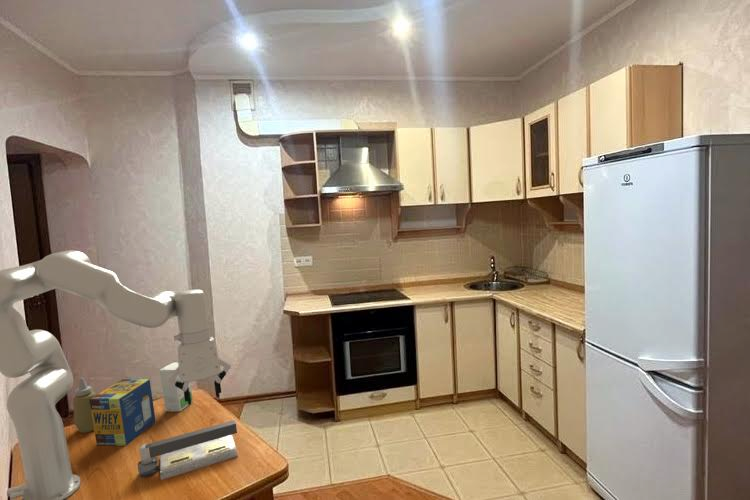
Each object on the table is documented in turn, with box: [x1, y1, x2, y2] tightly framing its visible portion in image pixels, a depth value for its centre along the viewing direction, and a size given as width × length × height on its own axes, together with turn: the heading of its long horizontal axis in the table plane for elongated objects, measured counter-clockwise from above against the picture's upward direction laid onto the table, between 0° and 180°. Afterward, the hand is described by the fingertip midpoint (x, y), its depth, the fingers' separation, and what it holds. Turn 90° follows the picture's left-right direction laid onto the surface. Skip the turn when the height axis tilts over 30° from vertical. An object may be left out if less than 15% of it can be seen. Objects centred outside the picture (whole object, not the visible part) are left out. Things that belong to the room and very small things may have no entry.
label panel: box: [159, 434, 239, 481], centre depth 129 cm, size 20×12×2 cm, turn 115°
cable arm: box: [138, 419, 238, 465], centre depth 127 cm, size 26×3×4 cm, turn 115°
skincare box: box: [159, 361, 194, 413], centre depth 162 cm, size 8×7×16 cm
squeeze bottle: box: [72, 377, 97, 434], centre depth 150 cm, size 8×8×18 cm
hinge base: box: [137, 456, 160, 479], centre depth 123 cm, size 5×5×3 cm
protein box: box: [89, 378, 156, 447], centre depth 145 cm, size 10×15×16 cm
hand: (203, 398), depth 121 cm, fingers open, 6 cm apart
